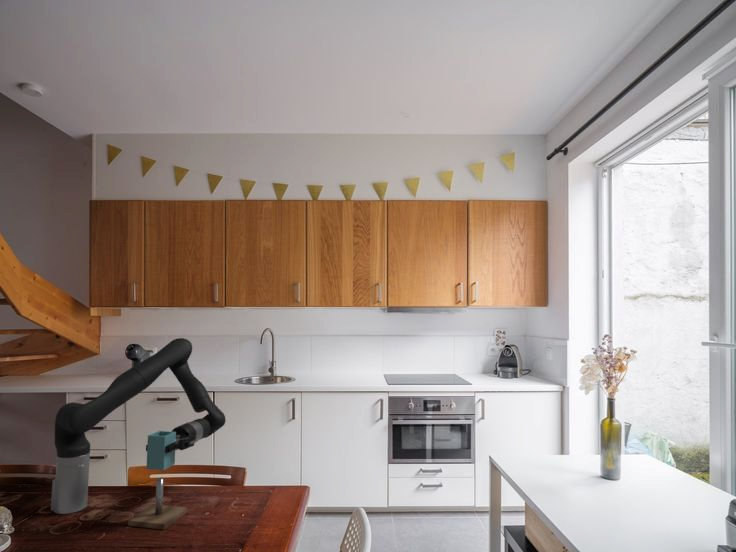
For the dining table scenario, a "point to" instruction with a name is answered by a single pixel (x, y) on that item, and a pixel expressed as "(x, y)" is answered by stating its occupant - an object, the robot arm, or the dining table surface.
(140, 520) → the walnut base plate
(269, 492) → the dining table surface
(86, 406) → the robot arm
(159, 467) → the teal sleeve
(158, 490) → the steel post
